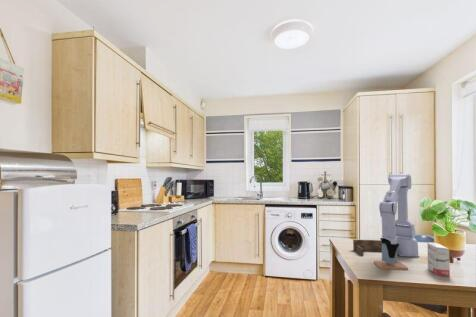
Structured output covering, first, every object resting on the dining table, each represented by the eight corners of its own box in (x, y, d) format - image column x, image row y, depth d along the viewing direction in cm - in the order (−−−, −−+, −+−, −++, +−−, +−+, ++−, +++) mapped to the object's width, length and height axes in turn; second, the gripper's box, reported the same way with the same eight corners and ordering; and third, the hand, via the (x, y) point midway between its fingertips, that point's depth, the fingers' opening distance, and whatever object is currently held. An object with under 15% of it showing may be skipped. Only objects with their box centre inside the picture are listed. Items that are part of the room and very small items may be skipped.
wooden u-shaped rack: (390, 251, 145) (389, 240, 145) (399, 257, 135) (398, 245, 135) (353, 250, 147) (353, 239, 148) (359, 255, 137) (359, 244, 138)
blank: (389, 259, 125) (388, 243, 125) (397, 263, 120) (396, 246, 120) (382, 260, 124) (381, 243, 125) (390, 263, 119) (389, 246, 120)
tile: (399, 263, 125) (399, 261, 125) (408, 269, 117) (408, 267, 117) (373, 262, 126) (373, 260, 127) (380, 268, 119) (380, 266, 119)
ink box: (451, 276, 109) (449, 248, 110) (437, 275, 110) (436, 247, 111) (439, 269, 118) (438, 242, 119) (427, 268, 119) (426, 242, 120)
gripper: (403, 230, 115) (404, 261, 114) (393, 224, 129) (394, 251, 128) (385, 229, 117) (386, 259, 116) (377, 223, 131) (378, 250, 130)
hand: (389, 255), depth 122 cm, fingers closed on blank, 6 cm apart
